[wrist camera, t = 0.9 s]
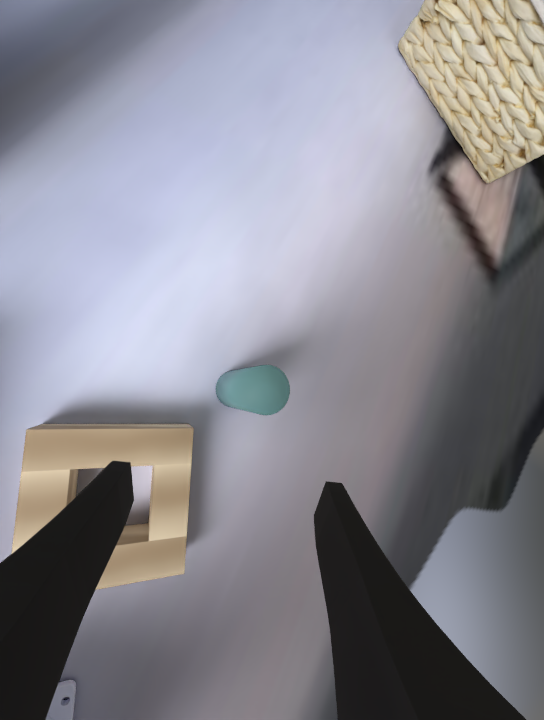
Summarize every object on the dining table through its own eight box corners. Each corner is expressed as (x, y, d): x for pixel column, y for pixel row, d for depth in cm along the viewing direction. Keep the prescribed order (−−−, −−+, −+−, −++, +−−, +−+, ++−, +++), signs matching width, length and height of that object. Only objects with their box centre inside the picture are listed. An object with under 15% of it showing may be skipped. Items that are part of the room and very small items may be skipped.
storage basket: (382, 39, 38) (515, -158, 24) (442, -3, 43) (580, -183, 29) (483, 199, 43) (640, 112, 29) (526, 145, 48) (676, 49, 34)
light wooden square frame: (179, 552, 24) (184, 573, 21) (24, 576, 20) (5, 605, 18) (188, 423, 25) (193, 428, 22) (41, 423, 21) (26, 429, 19)
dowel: (250, 407, 27) (289, 415, 20) (214, 407, 26) (241, 414, 19) (251, 371, 28) (290, 366, 20) (216, 369, 26) (244, 363, 19)
